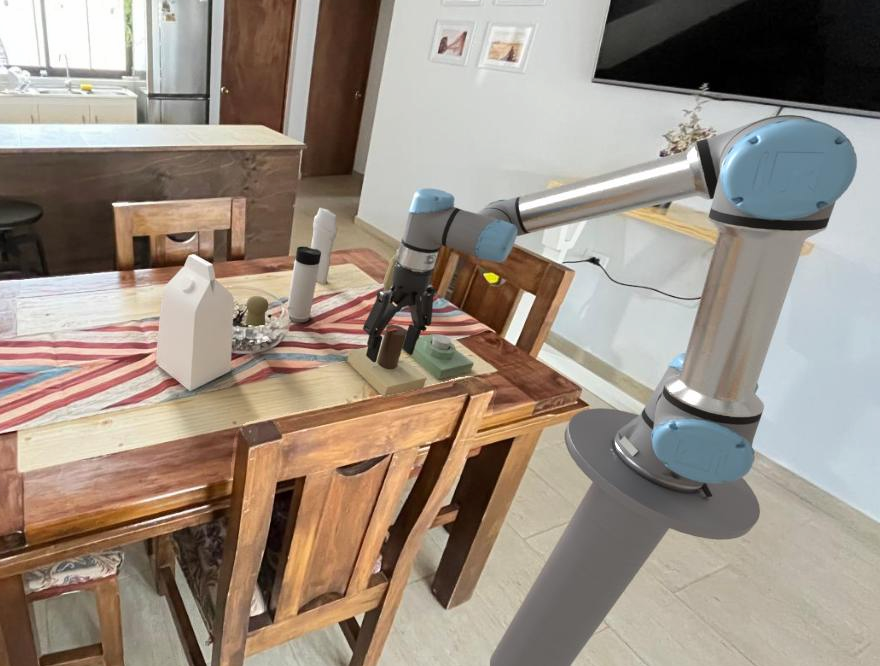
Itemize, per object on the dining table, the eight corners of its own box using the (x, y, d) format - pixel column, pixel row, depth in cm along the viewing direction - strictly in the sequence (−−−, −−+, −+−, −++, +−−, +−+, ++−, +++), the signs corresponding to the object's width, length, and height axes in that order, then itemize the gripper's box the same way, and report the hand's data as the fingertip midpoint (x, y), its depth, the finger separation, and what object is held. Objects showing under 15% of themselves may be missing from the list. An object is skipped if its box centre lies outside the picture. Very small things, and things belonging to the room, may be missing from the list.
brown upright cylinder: (388, 356, 119) (398, 322, 115) (401, 367, 116) (411, 332, 111) (373, 359, 117) (382, 325, 113) (385, 370, 114) (395, 335, 110)
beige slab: (423, 388, 115) (427, 377, 113) (384, 398, 110) (387, 386, 109) (384, 353, 126) (386, 342, 124) (346, 360, 121) (349, 349, 120)
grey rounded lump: (452, 349, 123) (454, 342, 122) (439, 351, 121) (442, 344, 120) (440, 340, 126) (442, 333, 125) (427, 342, 124) (430, 335, 123)
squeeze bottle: (398, 287, 160) (412, 233, 151) (413, 300, 153) (429, 244, 145) (375, 289, 157) (389, 234, 149) (390, 302, 150) (405, 245, 142)
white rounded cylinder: (300, 270, 163) (311, 204, 153) (311, 269, 165) (322, 203, 155) (320, 285, 155) (333, 216, 145) (331, 283, 157) (345, 215, 147)
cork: (254, 347, 122) (259, 307, 117) (235, 336, 126) (240, 297, 121) (270, 338, 126) (276, 299, 121) (251, 328, 130) (256, 290, 125)
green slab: (470, 372, 122) (476, 356, 120) (438, 379, 118) (444, 363, 116) (432, 342, 132) (437, 327, 130) (401, 348, 128) (406, 333, 126)
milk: (230, 370, 113) (242, 264, 101) (190, 391, 106) (197, 278, 94) (195, 345, 121) (202, 243, 109) (155, 363, 113) (158, 255, 101)
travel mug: (282, 319, 135) (293, 249, 126) (289, 308, 141) (300, 241, 132) (305, 325, 134) (318, 255, 124) (311, 314, 139) (324, 246, 130)
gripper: (382, 278, 98) (358, 373, 108) (468, 268, 106) (438, 356, 117) (359, 261, 104) (338, 353, 114) (442, 253, 112) (416, 339, 123)
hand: (389, 355), depth 115 cm, fingers open, 9 cm apart
